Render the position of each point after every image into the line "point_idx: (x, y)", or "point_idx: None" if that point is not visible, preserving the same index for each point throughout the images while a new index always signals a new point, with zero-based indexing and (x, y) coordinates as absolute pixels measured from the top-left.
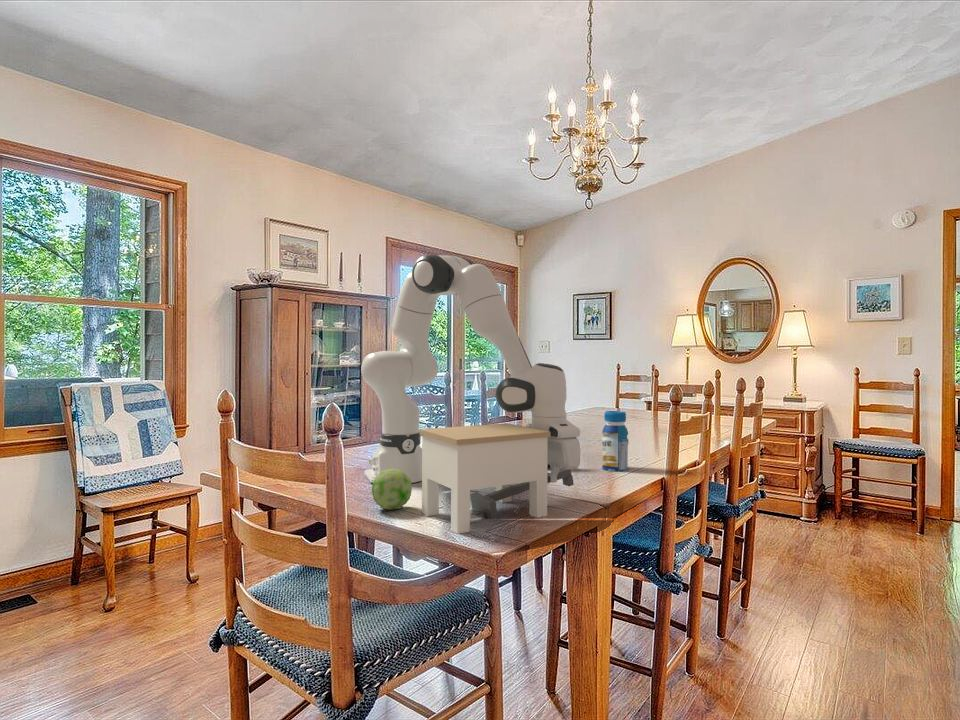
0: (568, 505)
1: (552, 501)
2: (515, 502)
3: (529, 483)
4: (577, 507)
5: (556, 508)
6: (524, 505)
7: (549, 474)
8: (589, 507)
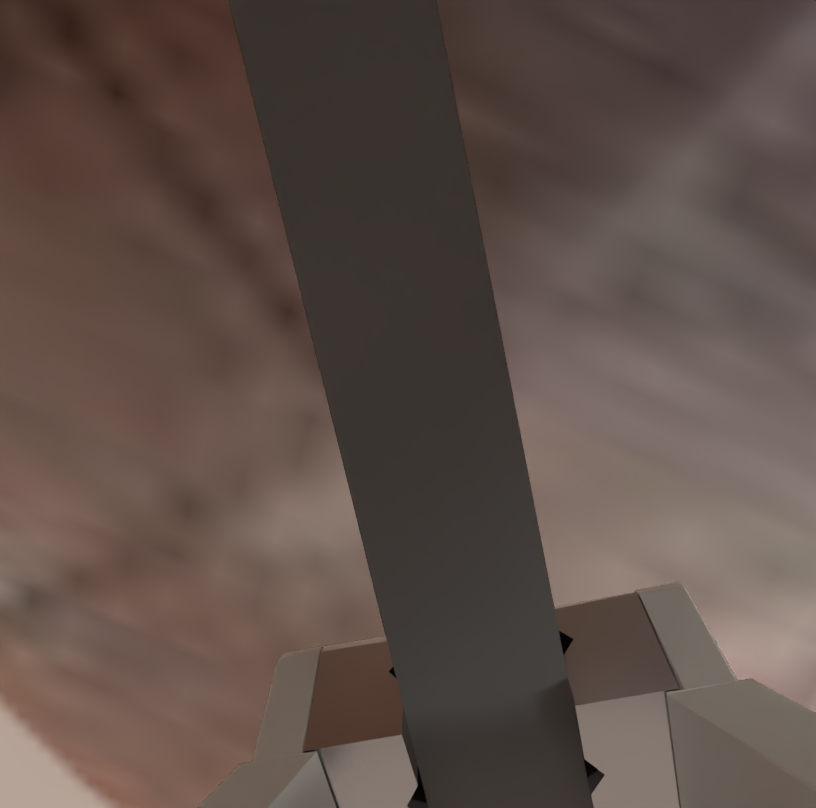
0: (330, 632)
1: (565, 544)
2: (746, 6)
3: (250, 74)
4: (224, 680)
5: (240, 453)
6: (521, 83)
7: (503, 793)
8: (195, 779)
